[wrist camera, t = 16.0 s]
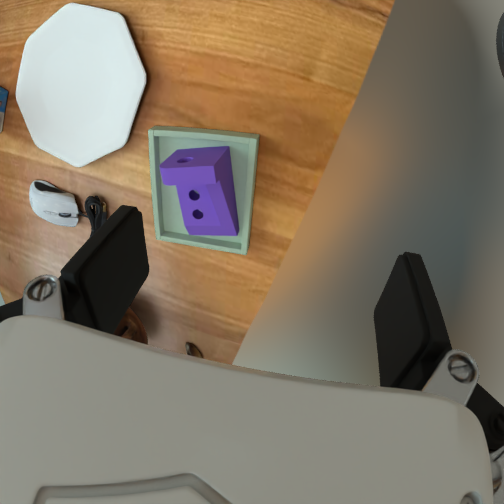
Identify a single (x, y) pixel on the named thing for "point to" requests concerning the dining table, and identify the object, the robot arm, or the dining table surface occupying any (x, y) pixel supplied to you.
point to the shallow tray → (167, 200)
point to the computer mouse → (64, 206)
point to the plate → (80, 83)
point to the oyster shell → (192, 350)
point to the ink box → (2, 105)
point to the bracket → (204, 189)
